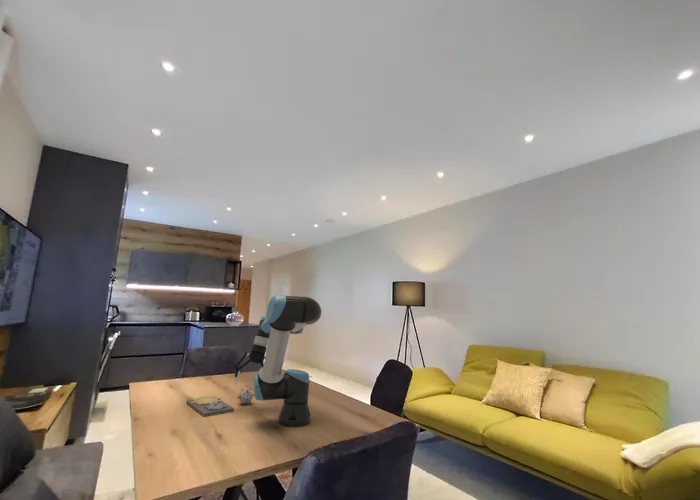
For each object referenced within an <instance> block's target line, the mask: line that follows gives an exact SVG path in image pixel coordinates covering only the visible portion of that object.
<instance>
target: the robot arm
mask: <svg viewBox="0 0 700 500" xmlns="http://www.w3.org/2000/svg"><path fill="white" fill-rule="evenodd" d="M265 314H266V316H265V315H262V316H261V318H260V320H259V322H258V323H259V324H258V328H257V331H256V334H255V337H254V340H253V345H252V347H251V351H250V352H248V351H245V352H244V353H243V355H242V357H240V359H239V360H238V361H237V362H236V363H235V364H234V366H233V369H235V373H234V378H235V381H234V385H237V384H238V380H239V377H240V373H241V371H240V370H242V369H243V368H244V367H245V366H247V365H248V364H249V363H252V364H253V363H255V364H259V365H260V367H261V368H260V369H259V370H258V373H254V375H253V392H254V393H253V395H254V399H255V400H256V401H273V400H283V405H282V408H281V410H280V412H279V415H278V423H279V424H281V425H282V426H286V427H287V426H288V427H302V426H306V425H308V424H311V413H310V407H309V390H310V389H309V388H310V383H311V382H310V373H308V372H306V371H305V370H300V369H294V368H289V369H286V371H285V372H284V370H283V367H284V362H285V357H286V353H287V349H288V348H287V347H288V345H289V339H290V336H291V334H292V335H293V334H294V335H297V334H299V335H301V334H302V333H303V331H304V327H306V326H308V325H313V324H315V323H317V322H318V321H319V320H320V318H321V316H322V308H321V305H320V304H319V302H317V301H316V300H315V299H314V298H312V297H309V296H297V295H296V296H295V295H294V296H293V295H285V294H281V295H277V294H276V295H273V296H272V297H271V298H270V300H269V302H268V304H267V308H266V313H265ZM247 357H249V359H248V360H247V361H245V362H243V361H244V359H245V358H247ZM242 362H243V363H242ZM241 363H242V364H241ZM240 364H241V365H240ZM239 365H240V366H239Z"/></svg>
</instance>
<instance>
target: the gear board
mask: <svg viewBox="0 0 700 500" xmlns="http://www.w3.org/2000/svg"><path fill="white" fill-rule="evenodd" d="M186 405H187V406H189V407H190V408H191V409H193V410H194V411H195V412H196V413H198V414H199V415H201V417H203V418H205V417H206V418H207V417H211V416H217V415H221V414H222V415H223V414H227V413H233V412H235V408H234V407H233V406H231V405H230V404H228V403H226V402H224V401H223V400H221V397H216V396H214V395H211V396H204V395H203V396H199V397H198V398H192V399H189V400H186Z"/></svg>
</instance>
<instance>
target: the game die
mask: <svg viewBox="0 0 700 500" xmlns="http://www.w3.org/2000/svg"><path fill="white" fill-rule="evenodd" d="M251 389H252V387H250V388H249V389H248V388H247V389H245V388H244V389H243V388H241V389H240V390H241V392H240V393H239V396H237V397H236V398H237V399H239V401H240V403H241V404H240V406H242V405H243V404H250V405H252V404H251V402H252V399H253V397H255V395H254V393H253V392H252V390H251Z"/></svg>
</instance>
